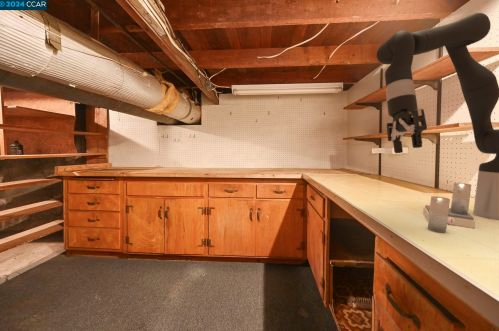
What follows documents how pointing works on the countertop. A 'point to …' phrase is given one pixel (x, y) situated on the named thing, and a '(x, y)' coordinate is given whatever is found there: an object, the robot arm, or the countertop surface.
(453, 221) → the scale
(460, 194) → the cylinder
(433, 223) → the cylinder
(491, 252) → the countertop surface
